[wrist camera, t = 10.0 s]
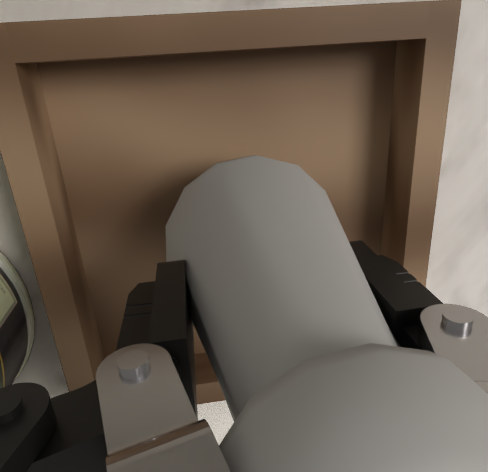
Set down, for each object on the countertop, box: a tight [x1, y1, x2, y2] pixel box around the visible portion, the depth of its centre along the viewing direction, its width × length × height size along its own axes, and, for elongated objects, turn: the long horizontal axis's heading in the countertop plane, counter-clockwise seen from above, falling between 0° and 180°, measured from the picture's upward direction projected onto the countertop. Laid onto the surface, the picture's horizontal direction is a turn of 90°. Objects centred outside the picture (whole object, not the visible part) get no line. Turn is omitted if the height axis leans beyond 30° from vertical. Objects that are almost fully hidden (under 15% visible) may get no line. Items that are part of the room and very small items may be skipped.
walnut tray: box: [0, 0, 461, 404], centre depth 16 cm, size 14×14×2 cm
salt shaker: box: [165, 155, 488, 472], centre depth 10 cm, size 6×6×13 cm
